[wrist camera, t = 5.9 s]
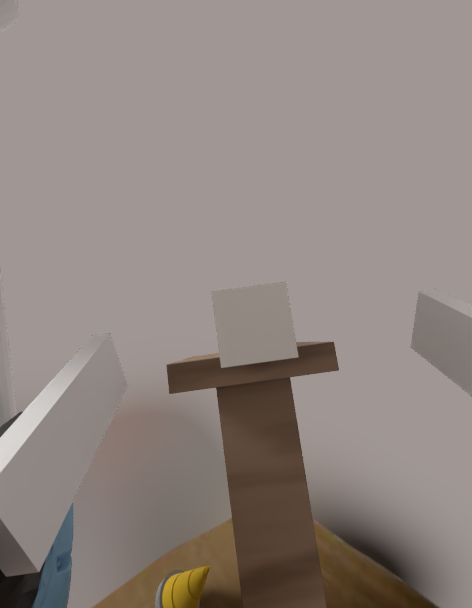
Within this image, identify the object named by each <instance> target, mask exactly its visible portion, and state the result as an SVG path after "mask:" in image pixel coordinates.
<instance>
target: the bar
mask: <svg viewBox="0 0 472 608" xmlns="http://www.w3.org/2000/svg"><path fill="white" fill-rule="evenodd" d="M212 299H213V307H214V316H215V323H216V331H217V340H218V347H219V355H220V363H221V368H225V367H232V366H239V365H247V364H254V363H261V362H268V361H276V360H283V359H290V358H297V357H298V351H297V345H296V339H295V333H294V327H293V321H292V315H291V309H290V303H289V296H288V290H287V284H286V282H279V283H272V284H265V285H257V286H249V287H242V288H235V289H227V290H221V291H212Z"/></svg>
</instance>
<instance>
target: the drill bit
mask: <svg viewBox="0 0 472 608" xmlns="http://www.w3.org/2000/svg"><path fill="white" fill-rule="evenodd" d="M209 568H210V566H204V567H201V568H197V569H193V570H189V571H186V572H184V571H181V570H175V571H172V572H171V573H169V574H168V575H167V576H166V577H165V579H164V580H163V581H162V582H161V584H160V585H159V588H158V590H157V594H156V599H155V608H200V598H201V594H202V591H203V588H204V584H205V581H206V578H207V575H208V571H209Z"/></svg>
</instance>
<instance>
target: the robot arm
mask: <svg viewBox="0 0 472 608" xmlns="http://www.w3.org/2000/svg"><path fill="white" fill-rule="evenodd" d="M17 17H18V1H17V0H0V33H1V32H2V31H4V30H6V29H7V28H9V27H11V26H12V25H13V24H14V23H15V22H16V20H17ZM411 348H412V349H413V350H415V351H416V352H417V353H418V354H420V355H421V356H422V357H423V358H425V359H426V360H427V361H428V362H430V363H431V364H432V365H433V366H435V367H436V368H437V369H438V370H439V371H441V372H442V373H443V374H445V375H446V376H447V377H448V378H449V379H451V380H452V381H453V382H454V383H456V384H457V385H458V386H459V387H461V388H462V389H463V390H465V391H466V392H467V393H468V394H469V395H471V396H472V305H471V304H469V303H467V302H465V301H462V300H460V299H458V298H456V297H453V296H451V295H449V294H446V293H444V292H442V291H440V290H437V289H434V290H426V291H419V293H418V300H417V308H416V314H415V322H414V328H413V335H412V343H411ZM10 360H11V359H10V351H9V342H8V333H7V324H6V315H5V307H4V298H3V288H2V279H1V270H0V608H67V603H68V598H69V590H70V581H71V566H72V562H71V555H70V554H71V551H72V542H73V500H74V498H75V496H76V494H77V492H78V490H79V488H80V485H81V483H82V481H83V479H84V477H85V475H86V473H87V471H88V469H89V467H90V464H91V462H92V460H93V458H94V456H95V454H96V452H97V450H98V448H99V446H100V444H101V441H102V439H103V437H104V435H105V433H106V431H107V429H108V427H109V425H110V422H111V420H112V418H113V416H114V414H115V412H116V410H117V408H118V406H119V404H120V401H121V399H122V397H123V395H124V393H125V391H126V389H127V387H128V385H127V382H126V379H125V376H124V373H123V370H122V367H121V364H120V361H119V358H118V355H117V352H116V349H115V346H114V343H113V340H112V337H111V334H110V333H107V334H100V335H92V336H91V337H90V338H89V339H88V341H87V342H86V343H85V344H84V345H83V346H82V347H81V348H80V349H79V351H78V352H77V353H76V354H75V355H74V356H73V357H72V358H71V359H70V361H69V362H68V363H67V364H66V365H65V366H64V367H63V369H62V370H61V371H60V372H59V373H58V374H57V375H56V376H55V377H54V378H53V380H52V381H51V382H50V383H49V384H48V385H47V386H46V387H45V388H44V390H43V391H42V392H41V393H40V394H39V395H38V396H37V397H36V399H35V400H34V401H33V402H32V403H31V404H30V405H29V406H28V407H27V409H26V410H25V411H24V412H20V413H18V414H17V413H16V404H15V395H14V386H13V377H12V368H11V361H10Z"/></svg>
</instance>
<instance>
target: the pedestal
mask: <svg viewBox="0 0 472 608" xmlns="http://www.w3.org/2000/svg"><path fill="white" fill-rule="evenodd" d="M296 345H297V351H298V357H297V358H290V359H283V360H276V361H268V362H261V363H254V364H247V365H239V366H232V367H225V368H221V363H220V355H219V353H215V354H208V355H201V356H194V357H190V358H187V359H184V360H181V361H178V362H174V363H171V364H168V365H167V373H168V384H169V393H170V394H172V393H179V392H187V391H193V390H200V389H208V388H215V387H216V389H217V397H218V405H219V414H220V422H221V430H222V438H223V446H224V455H225V463H226V470H227V478H228V488H229V496H230V504H231V512H232V521H233V529H234V537H235V545H236V553H237V562H238V570H239V578H240V586H241V595H242V603H243V608H327V607H326V601H325V594H324V588H323V582H322V576H321V569H320V563H319V557H318V551H317V544H316V538H315V532H314V525H313V519H312V513H311V507H310V501H309V495H308V488H307V482H306V475H305V469H304V463H303V457H302V450H301V445H300V438H299V431H298V425H297V419H296V413H295V406H294V400H293V394H292V388H291V381H290V377H294V376H301V375H309V374H316V373H323V372H330V371H338V370H339V368H338V363H337V357H336V352H335V346H334V342H296Z"/></svg>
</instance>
